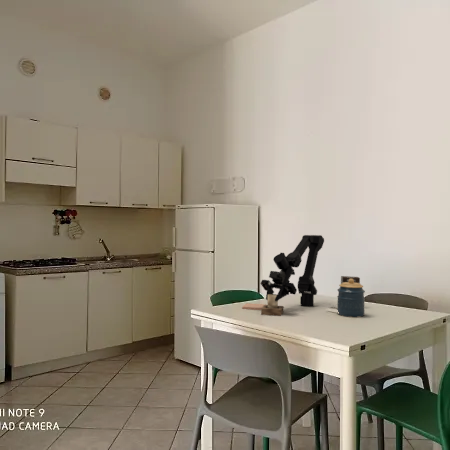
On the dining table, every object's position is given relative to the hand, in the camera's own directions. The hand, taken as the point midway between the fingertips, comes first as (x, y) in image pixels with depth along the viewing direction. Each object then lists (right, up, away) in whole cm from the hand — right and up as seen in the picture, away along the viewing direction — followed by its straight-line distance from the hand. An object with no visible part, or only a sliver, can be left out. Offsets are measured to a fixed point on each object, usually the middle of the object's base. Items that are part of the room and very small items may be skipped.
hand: (270, 300), depth 213 cm
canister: (+39, -8, +2) cm, 40 cm away
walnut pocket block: (+1, -7, +1) cm, 7 cm away
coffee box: (+45, -8, +23) cm, 51 cm away
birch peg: (+1, -7, +1) cm, 7 cm away
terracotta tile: (-7, -7, +15) cm, 18 cm away
